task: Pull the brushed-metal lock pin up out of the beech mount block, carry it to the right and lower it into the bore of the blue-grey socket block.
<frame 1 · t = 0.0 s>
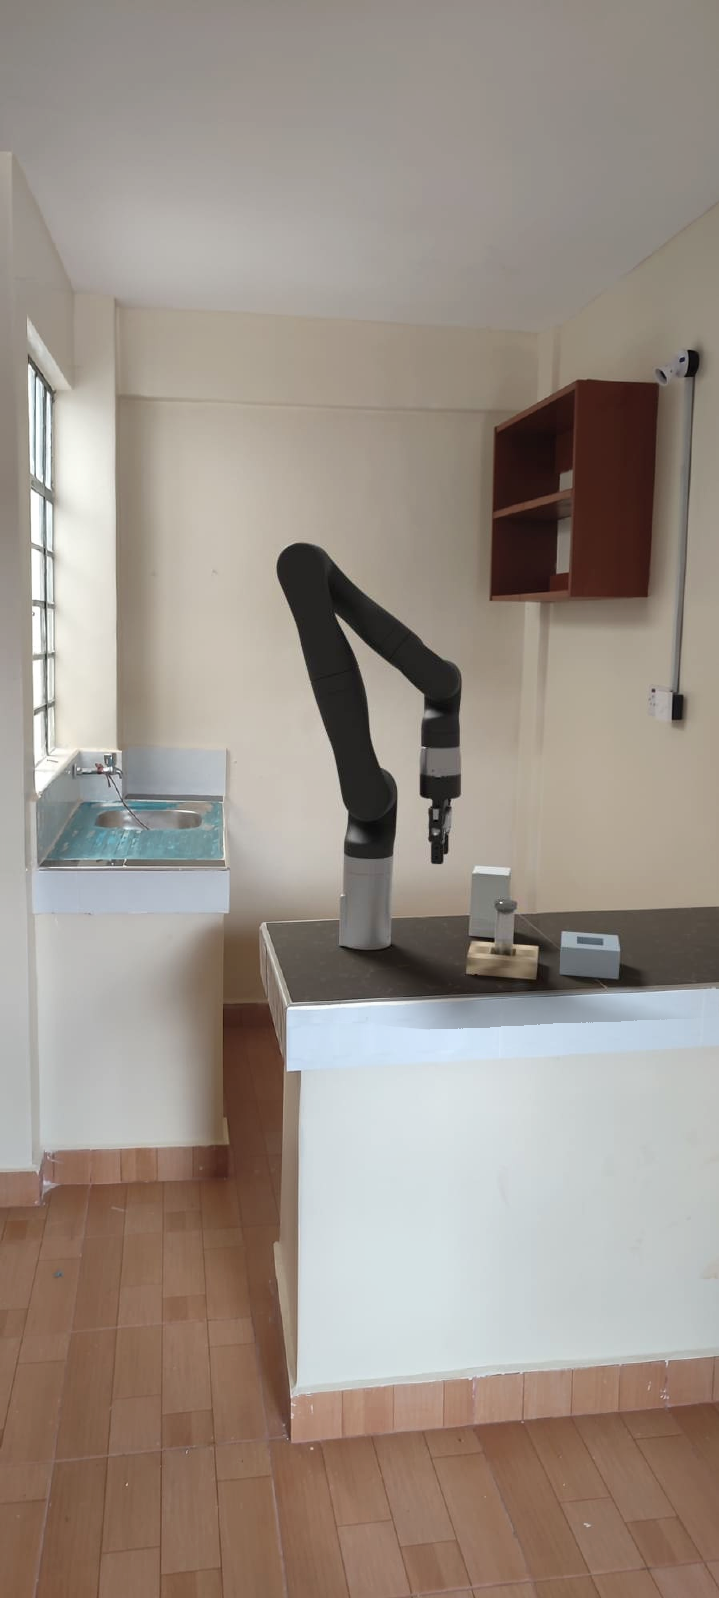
hand: (439, 858, 208), 17 cm above the table, tool pointing down, fingers open, 8 cm apart
mount: (502, 967, 201), on the table
pin: (502, 968, 201), resting in mount
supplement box: (488, 933, 223), on the table
socket: (588, 968, 202), on the table
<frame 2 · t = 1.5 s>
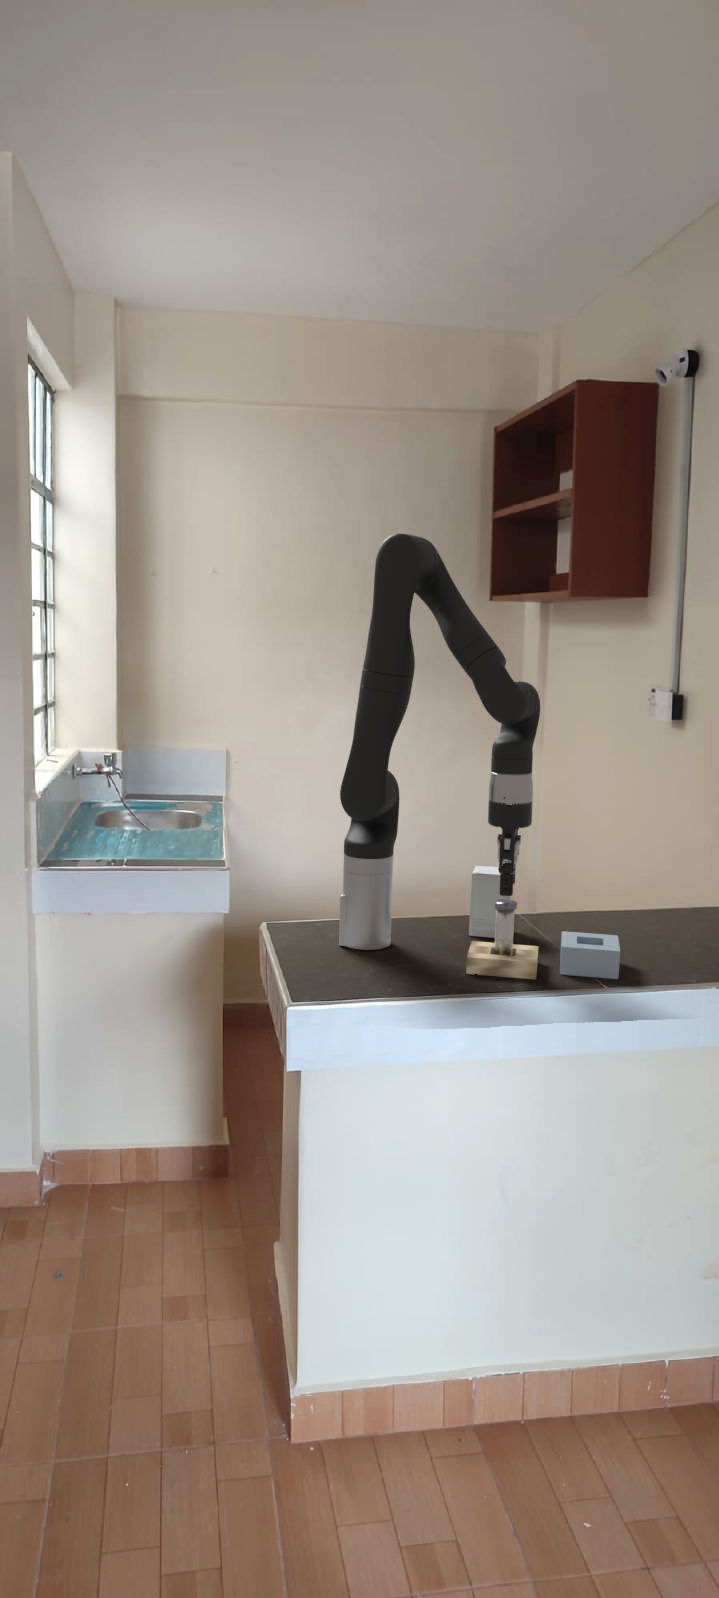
hand: (507, 889, 198), 14 cm above the table, tool pointing down, fingers open, 8 cm apart
nothing on the table moved.
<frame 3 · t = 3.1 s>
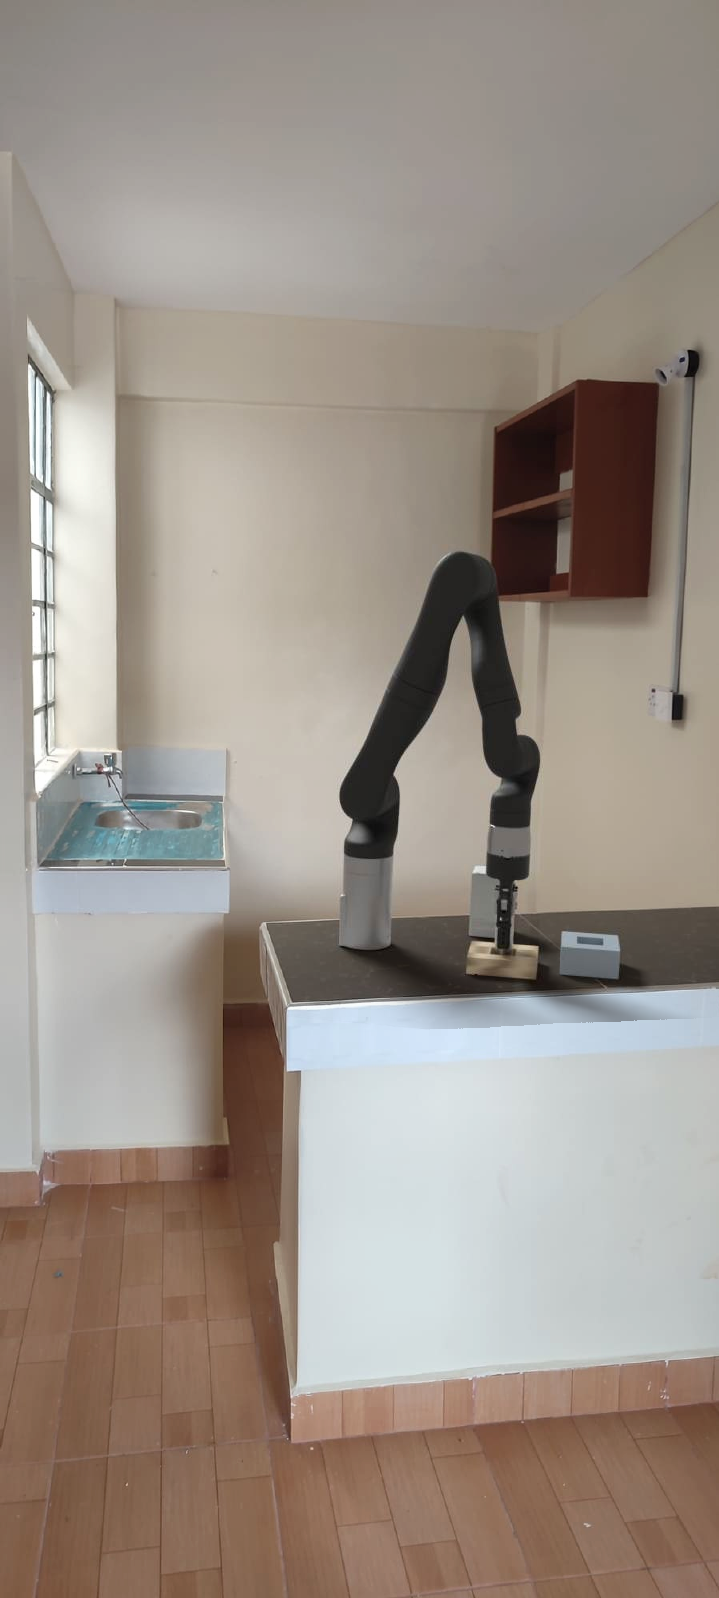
hand: (503, 945, 200), 4 cm above the table, tool pointing down, fingers closed on pin, 3 cm apart
pin: (502, 968, 201), resting in mount, touching gripper
everything else where it was.
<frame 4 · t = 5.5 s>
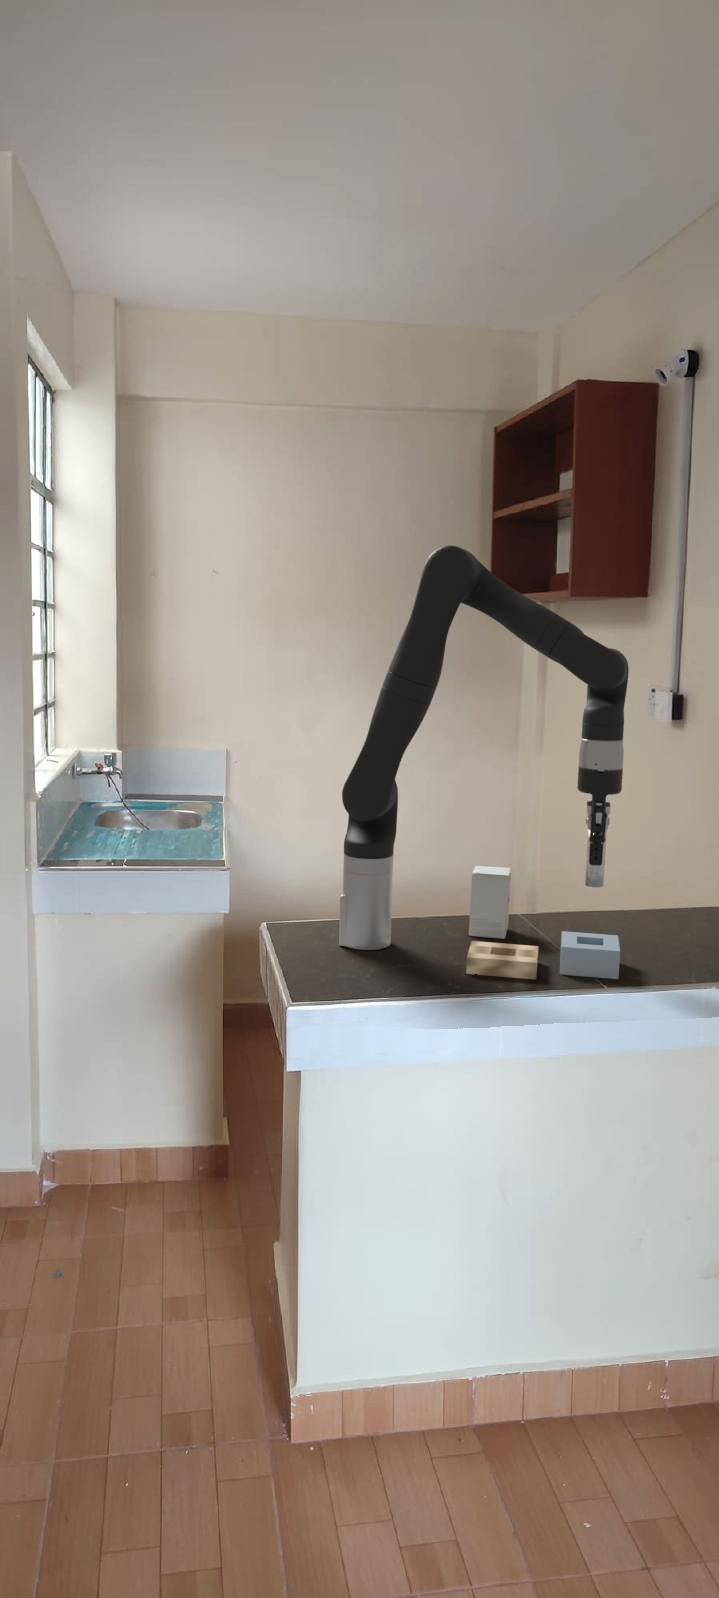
hand: (595, 862, 199), 19 cm above the table, tool pointing down, fingers closed on pin, 3 cm apart
pin: (594, 885, 199), point 15 cm above the table, touching gripper
everything else where it was.
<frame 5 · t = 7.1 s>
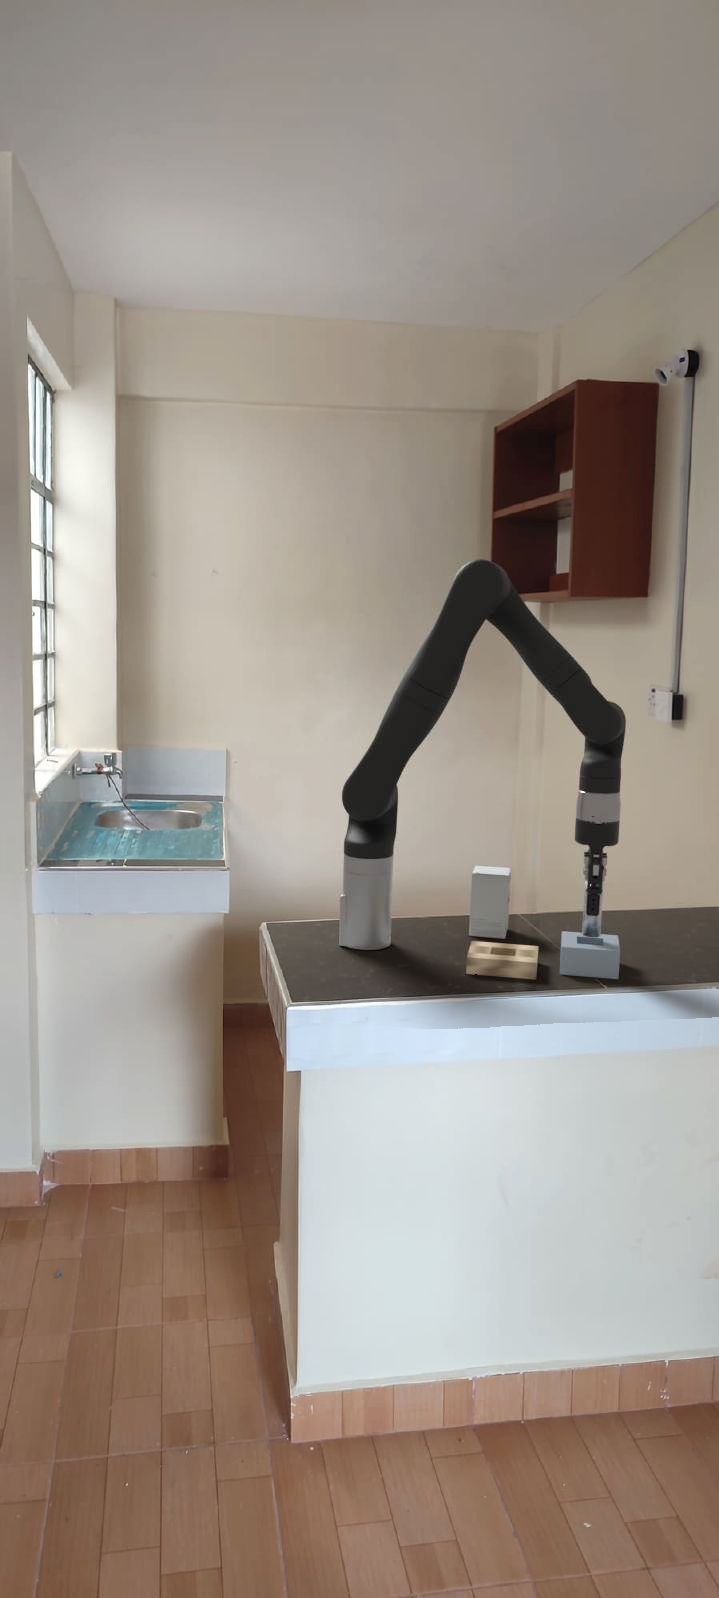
hand: (592, 912, 200), 10 cm above the table, tool pointing down, fingers closed on pin, 3 cm apart
pin: (591, 934, 201), point 6 cm above the table, touching gripper
everything else where it was.
when the fingers open (6 cm above the table, at t = 8.3 s): pin drops 1 cm, resting in socket.
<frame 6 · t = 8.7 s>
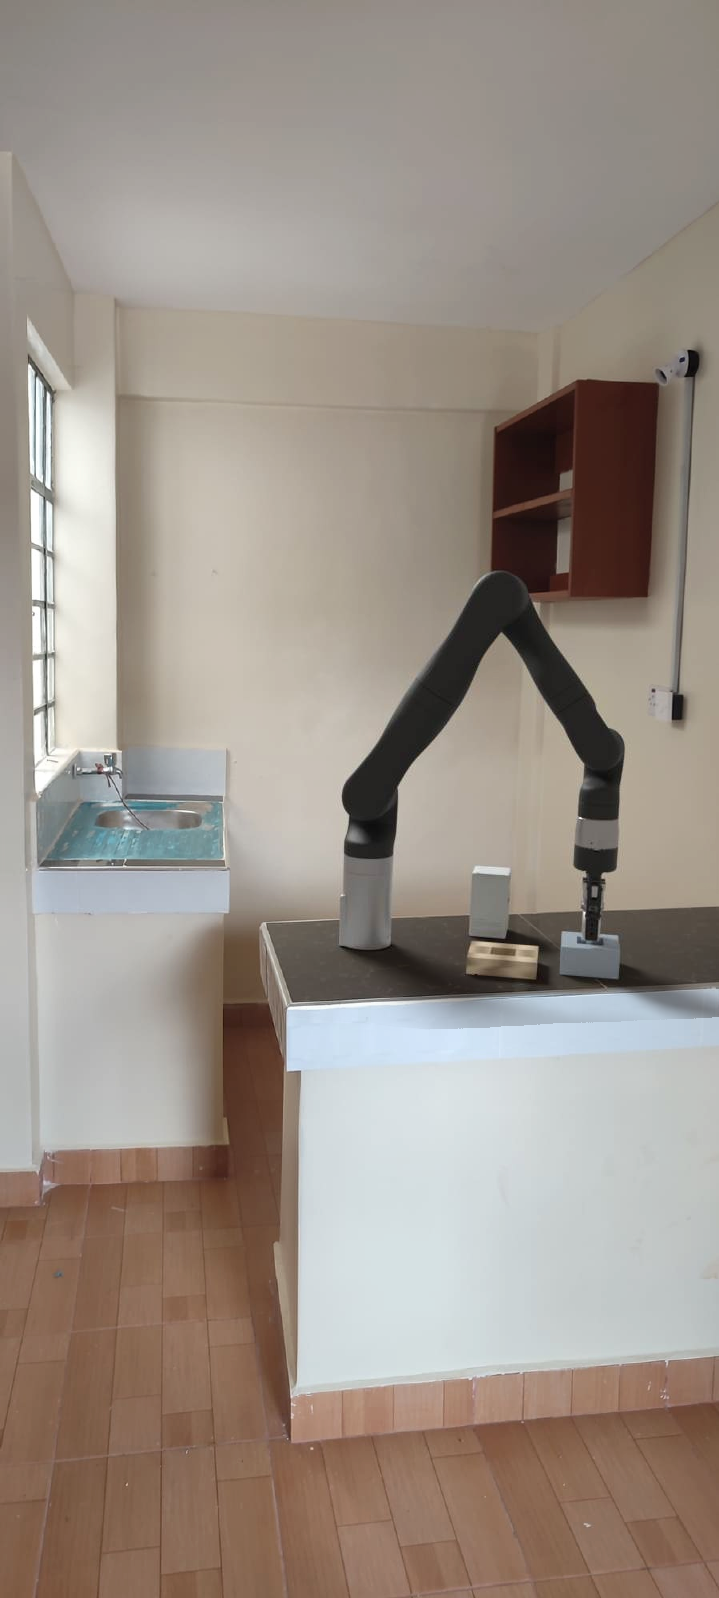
hand: (590, 934, 201), 6 cm above the table, tool pointing down, fingers open, 6 cm apart
pin: (588, 968, 202), resting in socket
everything else where it was.
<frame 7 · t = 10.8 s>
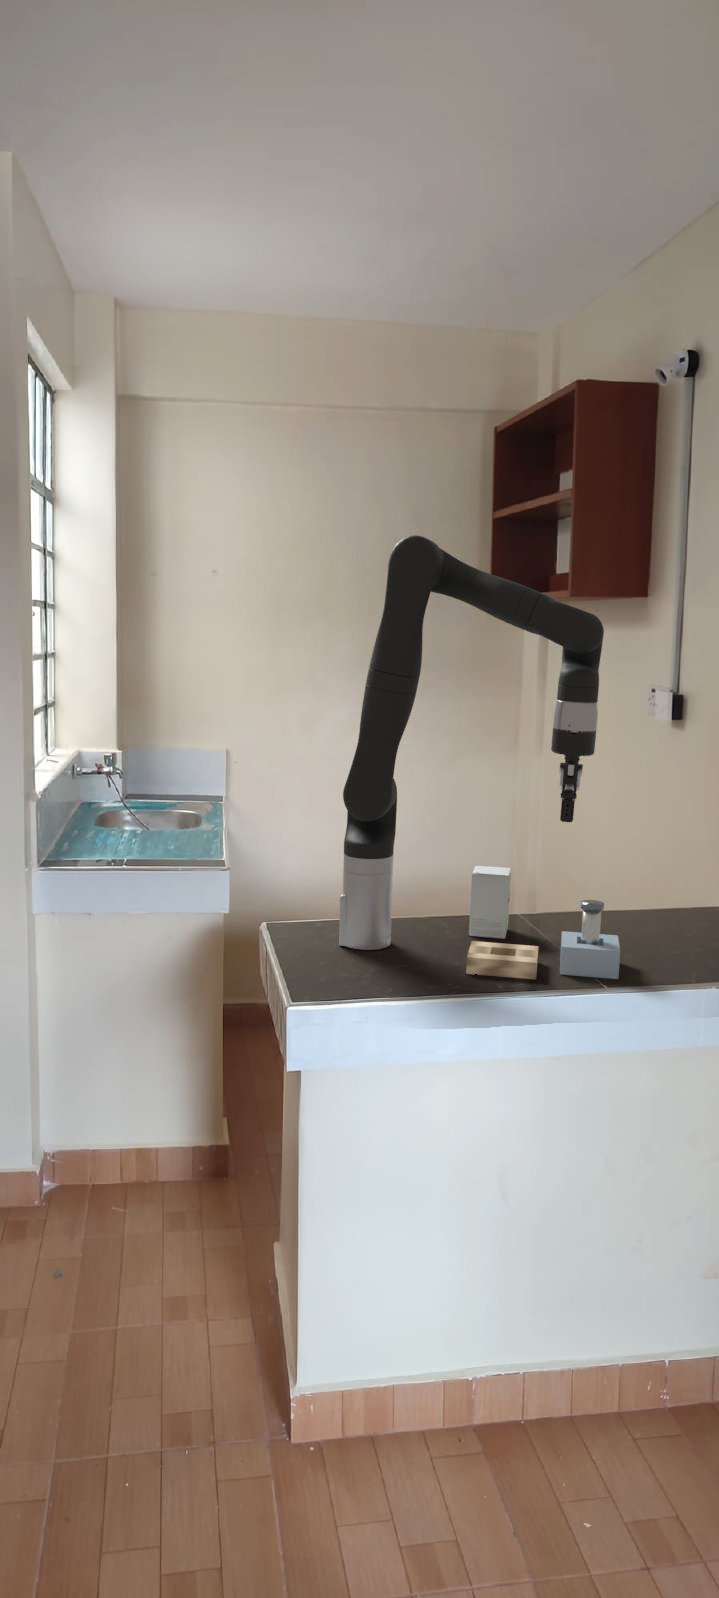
hand: (566, 817, 202), 26 cm above the table, tool pointing down, fingers open, 8 cm apart
nothing on the table moved.
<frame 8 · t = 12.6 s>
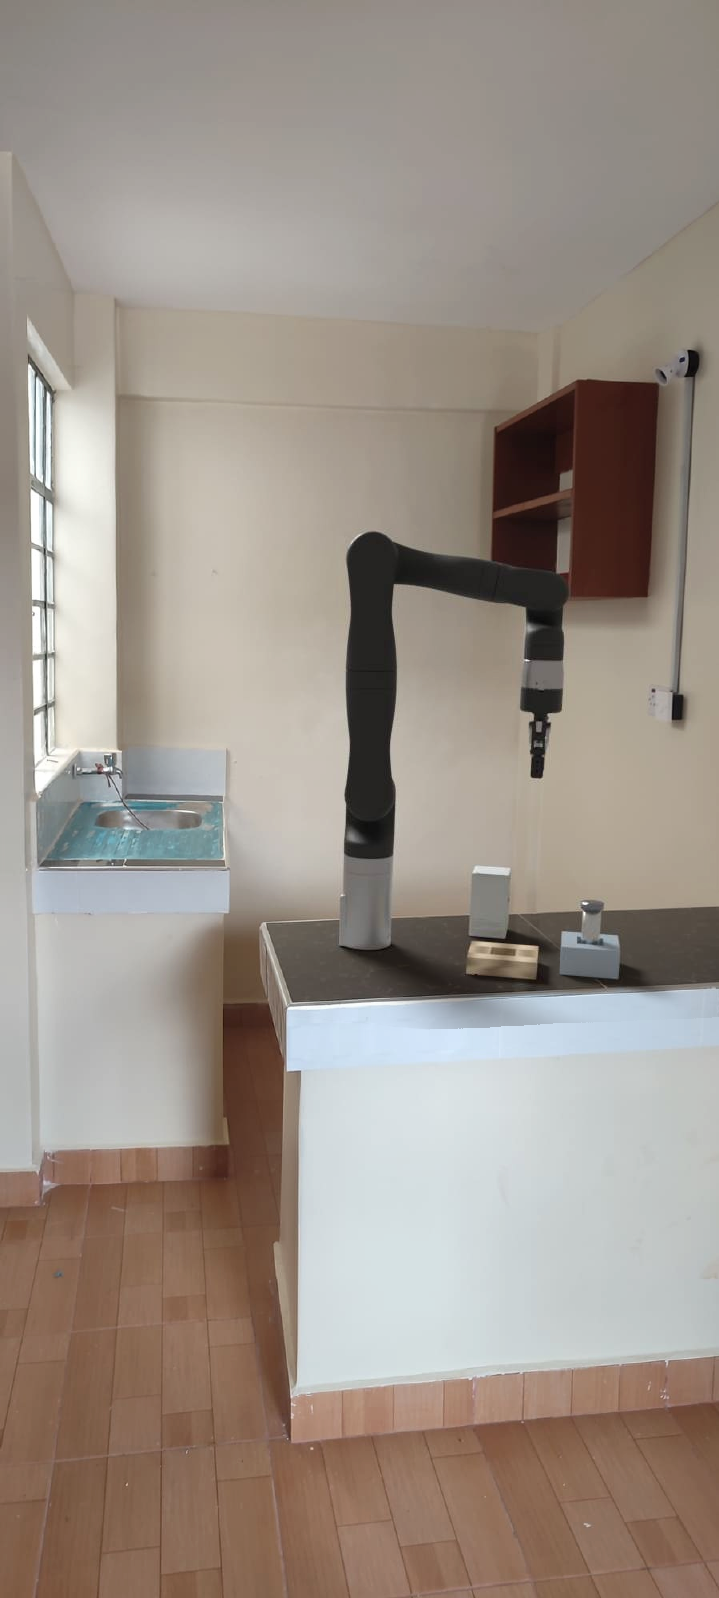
hand: (537, 774, 206), 33 cm above the table, tool pointing down, fingers open, 8 cm apart
nothing on the table moved.
at the end: pin 0.0 cm off-centre on the socket, point 0.0 cm above the socket's base; pin tilted 0°; the gripper is holding nothing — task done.
